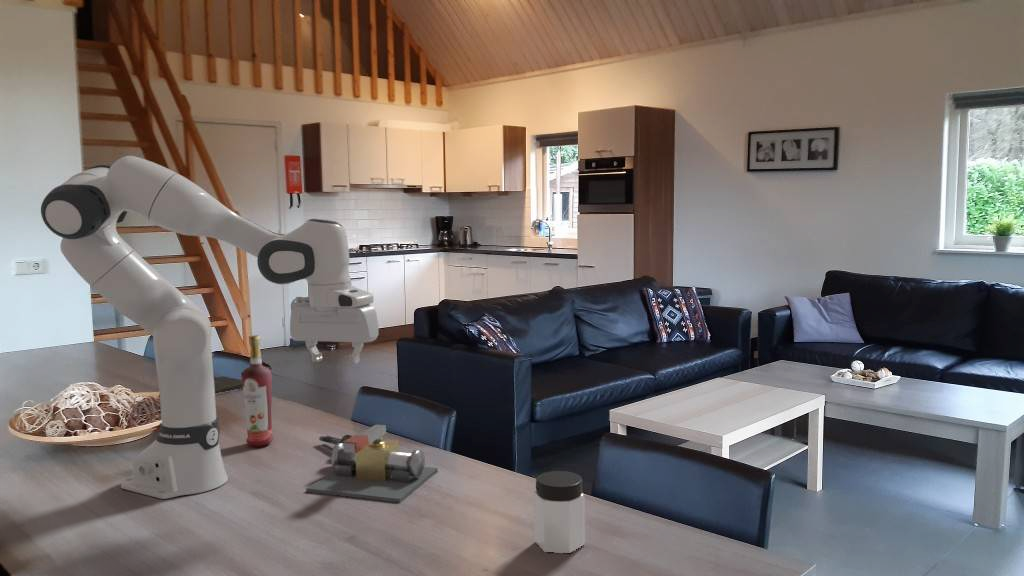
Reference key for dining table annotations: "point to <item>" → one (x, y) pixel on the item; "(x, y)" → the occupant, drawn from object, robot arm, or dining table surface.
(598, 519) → the dining table surface
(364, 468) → the pipe valve
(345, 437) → the valve
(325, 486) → the mat
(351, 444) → the lever
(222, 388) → the dark grey flat slab
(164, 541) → the dining table surface
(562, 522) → the jar
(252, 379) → the liquor
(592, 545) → the dining table surface
